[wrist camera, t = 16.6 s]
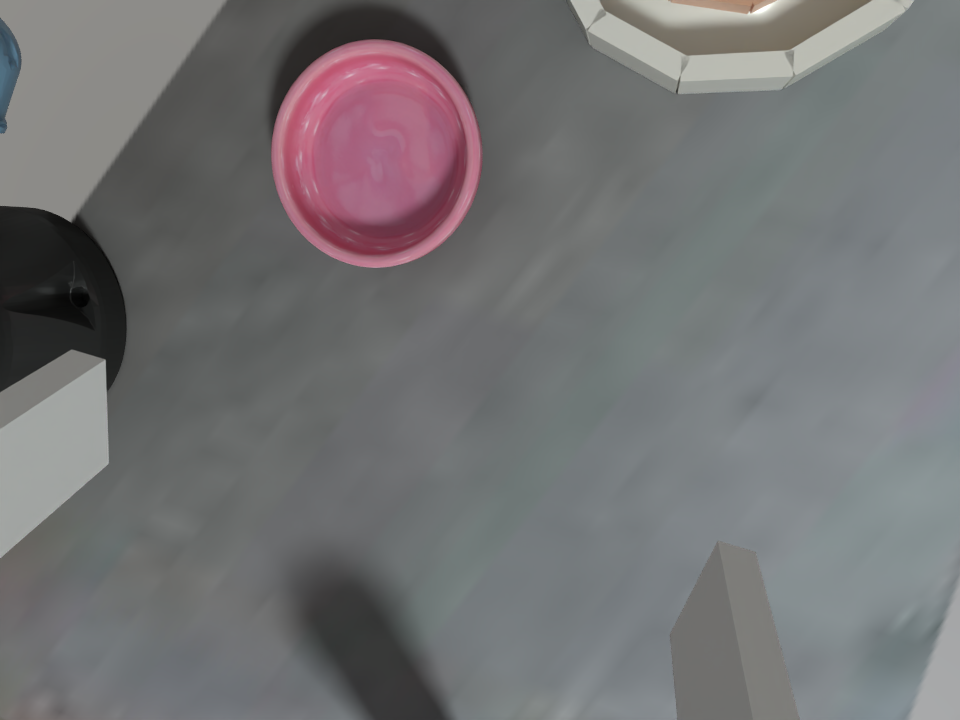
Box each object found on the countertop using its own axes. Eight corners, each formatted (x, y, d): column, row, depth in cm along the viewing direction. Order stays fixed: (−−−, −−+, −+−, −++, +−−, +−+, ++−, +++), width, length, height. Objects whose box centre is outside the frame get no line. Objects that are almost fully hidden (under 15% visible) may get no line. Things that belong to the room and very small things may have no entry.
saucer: (533, 137, 40) (524, 128, 37) (410, 307, 43) (392, 311, 40) (368, 9, 41) (346, -10, 38) (260, 184, 44) (231, 180, 41)
